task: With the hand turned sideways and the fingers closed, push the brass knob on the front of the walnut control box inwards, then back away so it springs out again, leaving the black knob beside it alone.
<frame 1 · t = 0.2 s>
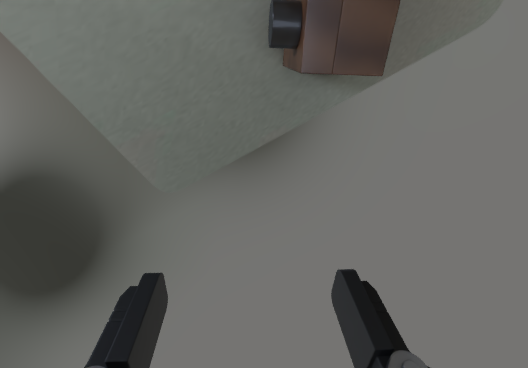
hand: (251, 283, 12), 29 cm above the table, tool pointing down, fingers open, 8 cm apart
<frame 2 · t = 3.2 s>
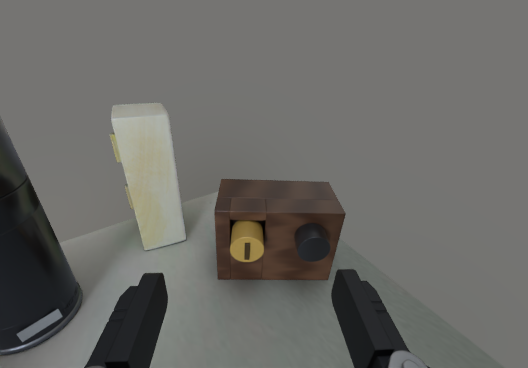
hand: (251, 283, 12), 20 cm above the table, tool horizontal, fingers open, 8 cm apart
brass knob: (247, 240, 31), point 9 cm above the table, slide at -0.1 cm
control box: (271, 258, 40), on the table
toy refrigerator: (160, 232, 44), on the table
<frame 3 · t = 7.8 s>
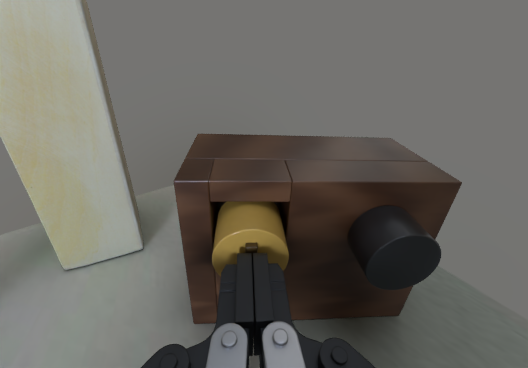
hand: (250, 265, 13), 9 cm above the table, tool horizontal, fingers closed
brass knob: (250, 239, 14), point 8 cm above the table, slide at 0.6 cm, touching gripper
control box: (291, 277, 23), on the table
toy refrigerator: (103, 238, 27), on the table
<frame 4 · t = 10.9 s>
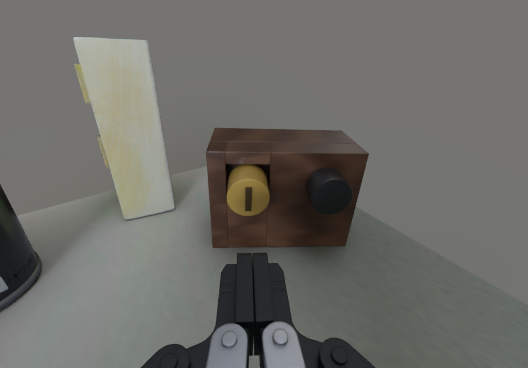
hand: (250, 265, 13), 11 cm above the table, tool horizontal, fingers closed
brass knob: (248, 190, 25), point 9 cm above the table, slide at -0.1 cm
control box: (276, 226, 34), on the table
toy refrigerator: (145, 203, 38), on the table
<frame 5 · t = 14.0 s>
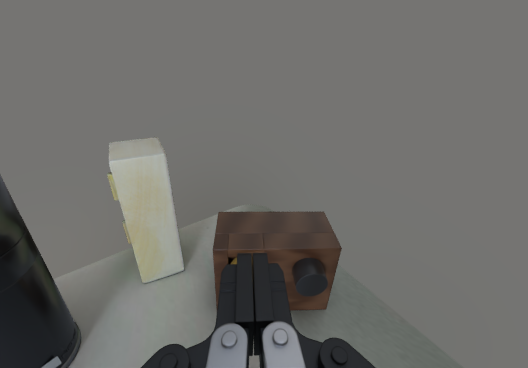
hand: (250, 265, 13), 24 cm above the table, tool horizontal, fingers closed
brass knob: (245, 277, 31), point 8 cm above the table, slide at -0.1 cm
control box: (270, 288, 40), on the table
toy refrigerator: (158, 262, 44), on the table
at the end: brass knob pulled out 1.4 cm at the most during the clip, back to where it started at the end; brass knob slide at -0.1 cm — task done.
